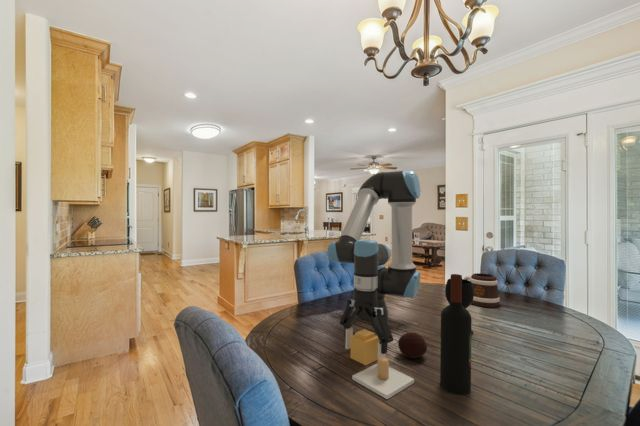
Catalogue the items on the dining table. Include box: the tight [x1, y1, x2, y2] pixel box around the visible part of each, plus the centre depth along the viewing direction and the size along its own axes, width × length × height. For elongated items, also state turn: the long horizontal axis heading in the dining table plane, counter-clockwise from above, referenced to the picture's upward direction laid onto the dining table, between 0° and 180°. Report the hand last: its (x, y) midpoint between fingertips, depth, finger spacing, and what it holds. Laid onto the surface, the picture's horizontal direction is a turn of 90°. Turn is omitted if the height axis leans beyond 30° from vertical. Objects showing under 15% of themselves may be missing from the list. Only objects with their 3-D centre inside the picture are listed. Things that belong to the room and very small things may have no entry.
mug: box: [463, 273, 501, 309], centre depth 162 cm, size 20×15×15 cm
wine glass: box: [444, 278, 474, 336], centre depth 122 cm, size 10×10×20 cm
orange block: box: [349, 328, 380, 366], centre depth 98 cm, size 6×6×8 cm
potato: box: [397, 332, 428, 360], centre depth 99 cm, size 8×9×8 cm
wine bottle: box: [439, 273, 472, 396], centre depth 82 cm, size 8×8×30 cm
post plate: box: [351, 356, 415, 400], centre depth 85 cm, size 12×12×6 cm
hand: (364, 355), depth 97 cm, fingers open, 13 cm apart
